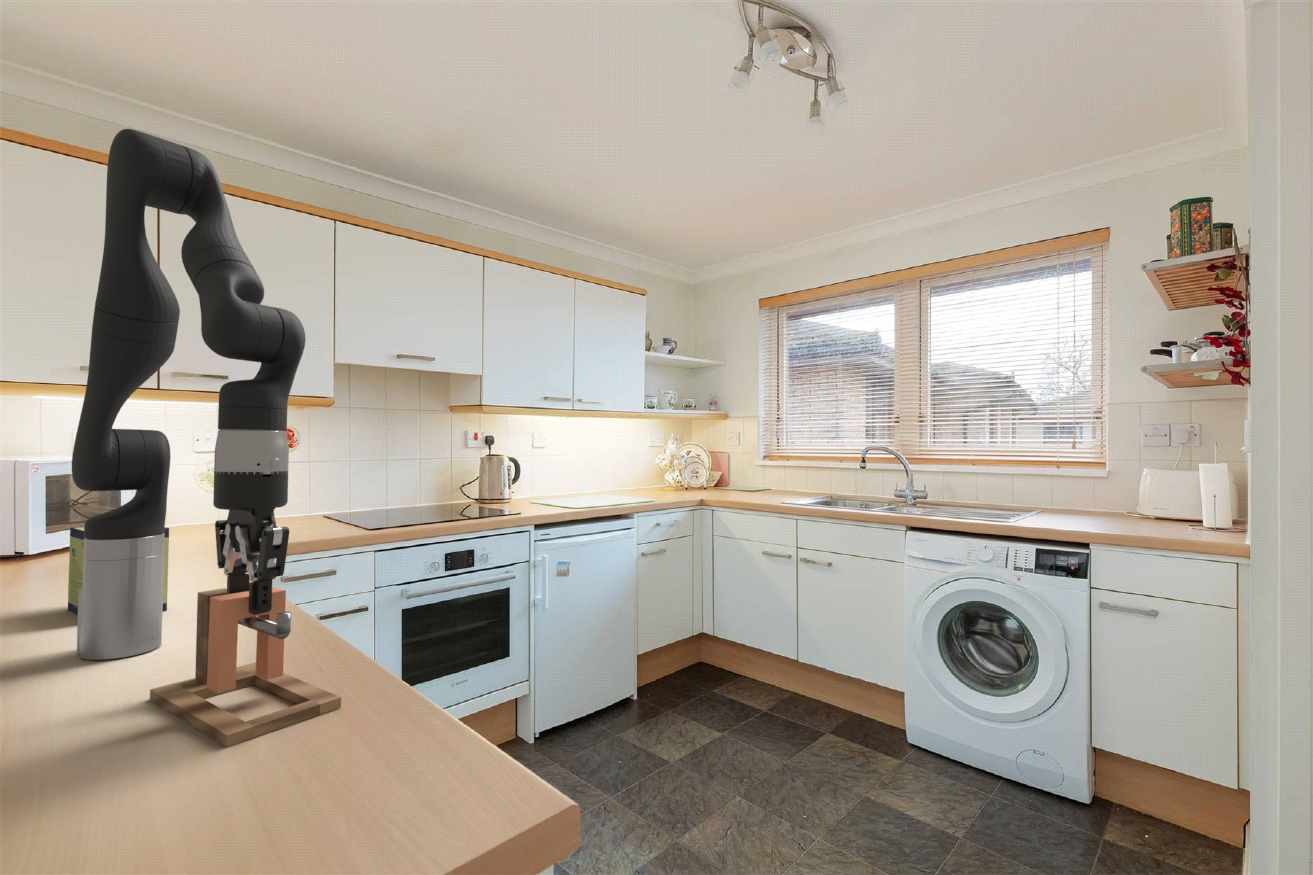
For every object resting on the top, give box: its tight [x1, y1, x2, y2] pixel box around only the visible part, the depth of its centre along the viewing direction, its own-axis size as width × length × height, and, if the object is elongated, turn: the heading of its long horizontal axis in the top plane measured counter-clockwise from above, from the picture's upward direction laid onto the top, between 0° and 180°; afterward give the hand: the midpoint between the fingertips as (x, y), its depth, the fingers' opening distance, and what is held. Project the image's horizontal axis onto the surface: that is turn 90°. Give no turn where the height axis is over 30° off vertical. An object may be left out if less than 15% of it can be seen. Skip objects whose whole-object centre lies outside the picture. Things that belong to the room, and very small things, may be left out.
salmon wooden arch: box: [207, 586, 287, 694], centre depth 74 cm, size 7×3×10 cm, turn 146°
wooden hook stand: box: [149, 587, 342, 748], centre depth 75 cm, size 21×12×12 cm, turn 56°
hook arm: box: [238, 611, 292, 640], centre depth 74 cm, size 17×1×3 cm, turn 56°
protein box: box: [67, 525, 170, 615], centre depth 115 cm, size 10×16×16 cm
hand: (248, 608), depth 74 cm, fingers open, 5 cm apart
